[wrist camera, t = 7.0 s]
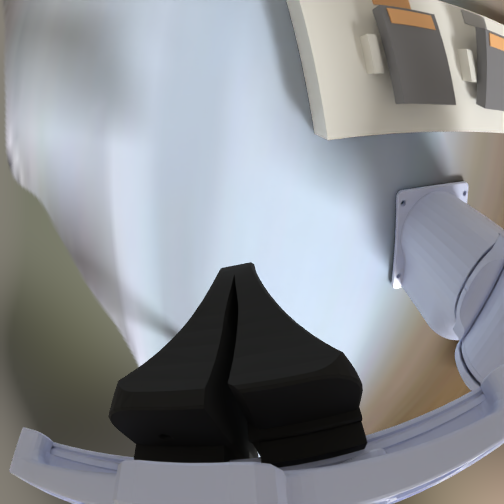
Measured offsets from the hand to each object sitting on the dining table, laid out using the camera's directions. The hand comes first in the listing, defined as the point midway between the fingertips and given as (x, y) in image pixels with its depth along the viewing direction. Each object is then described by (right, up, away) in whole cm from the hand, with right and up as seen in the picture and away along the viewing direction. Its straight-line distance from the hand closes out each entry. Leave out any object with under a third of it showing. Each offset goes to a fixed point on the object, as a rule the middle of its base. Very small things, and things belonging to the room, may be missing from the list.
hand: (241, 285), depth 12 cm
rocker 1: (+10, +12, -1) cm, 16 cm away
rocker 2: (+17, +14, -1) cm, 22 cm away
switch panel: (+17, +16, +3) cm, 24 cm away
